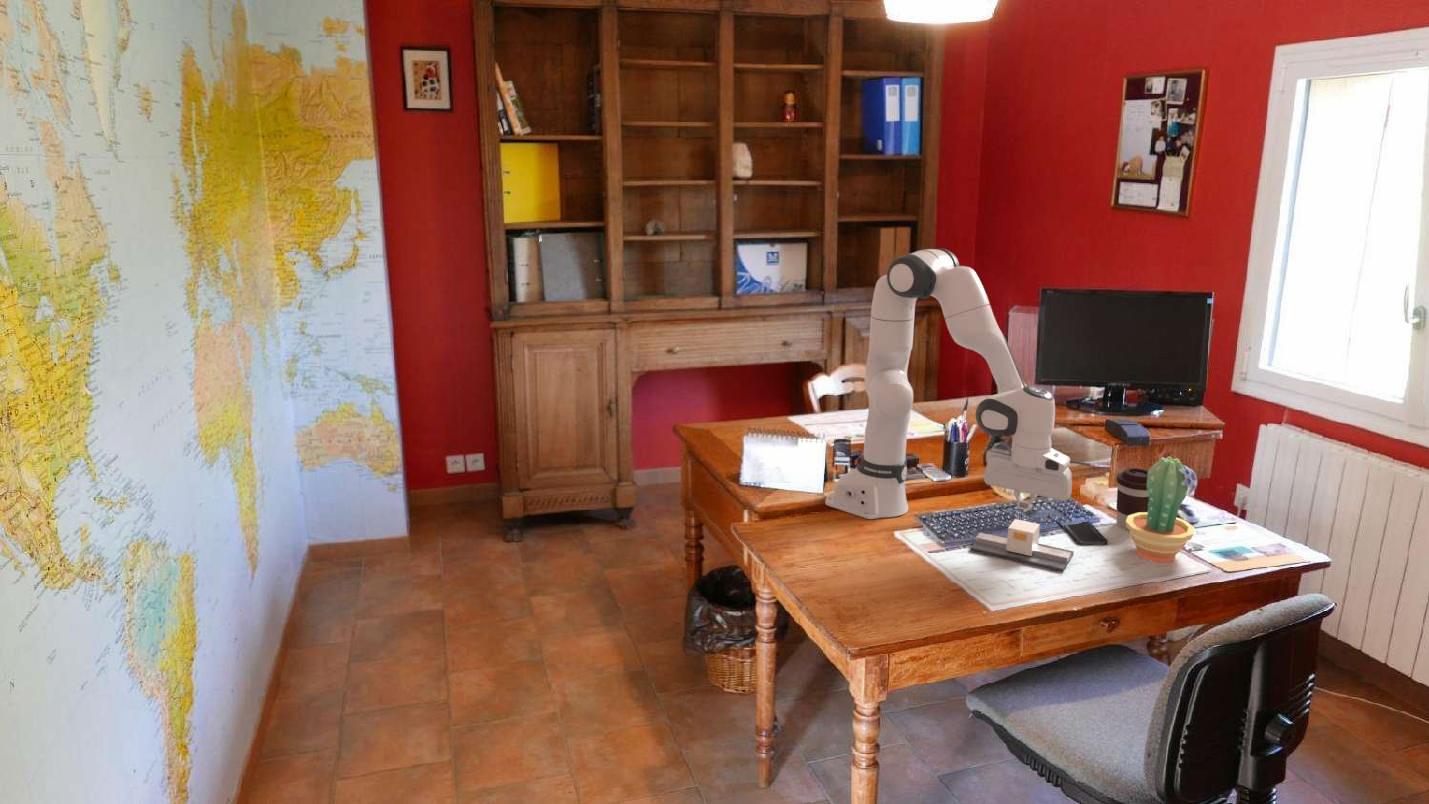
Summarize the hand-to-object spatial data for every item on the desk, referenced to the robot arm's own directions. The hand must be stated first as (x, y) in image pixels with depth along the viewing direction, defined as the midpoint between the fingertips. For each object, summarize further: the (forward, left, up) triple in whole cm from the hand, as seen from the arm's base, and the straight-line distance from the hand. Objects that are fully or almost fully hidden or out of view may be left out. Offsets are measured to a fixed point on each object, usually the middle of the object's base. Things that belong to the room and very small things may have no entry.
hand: (1023, 508), depth 235 cm
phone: (+11, +20, -12) cm, 26 cm away
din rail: (+1, 0, -12) cm, 12 cm away
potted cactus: (+29, +16, -12) cm, 35 cm away
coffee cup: (+21, +31, -12) cm, 39 cm away
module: (+1, 0, -10) cm, 10 cm away
